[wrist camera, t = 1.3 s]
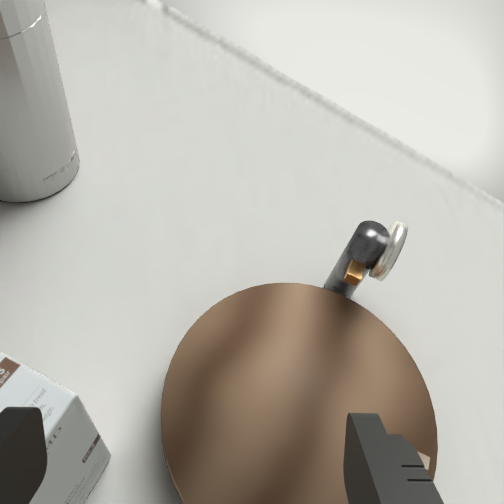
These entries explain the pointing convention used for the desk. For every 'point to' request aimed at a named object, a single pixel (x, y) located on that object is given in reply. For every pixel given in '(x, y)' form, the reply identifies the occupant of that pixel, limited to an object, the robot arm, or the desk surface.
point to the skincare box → (57, 433)
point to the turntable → (284, 396)
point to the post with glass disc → (367, 256)
